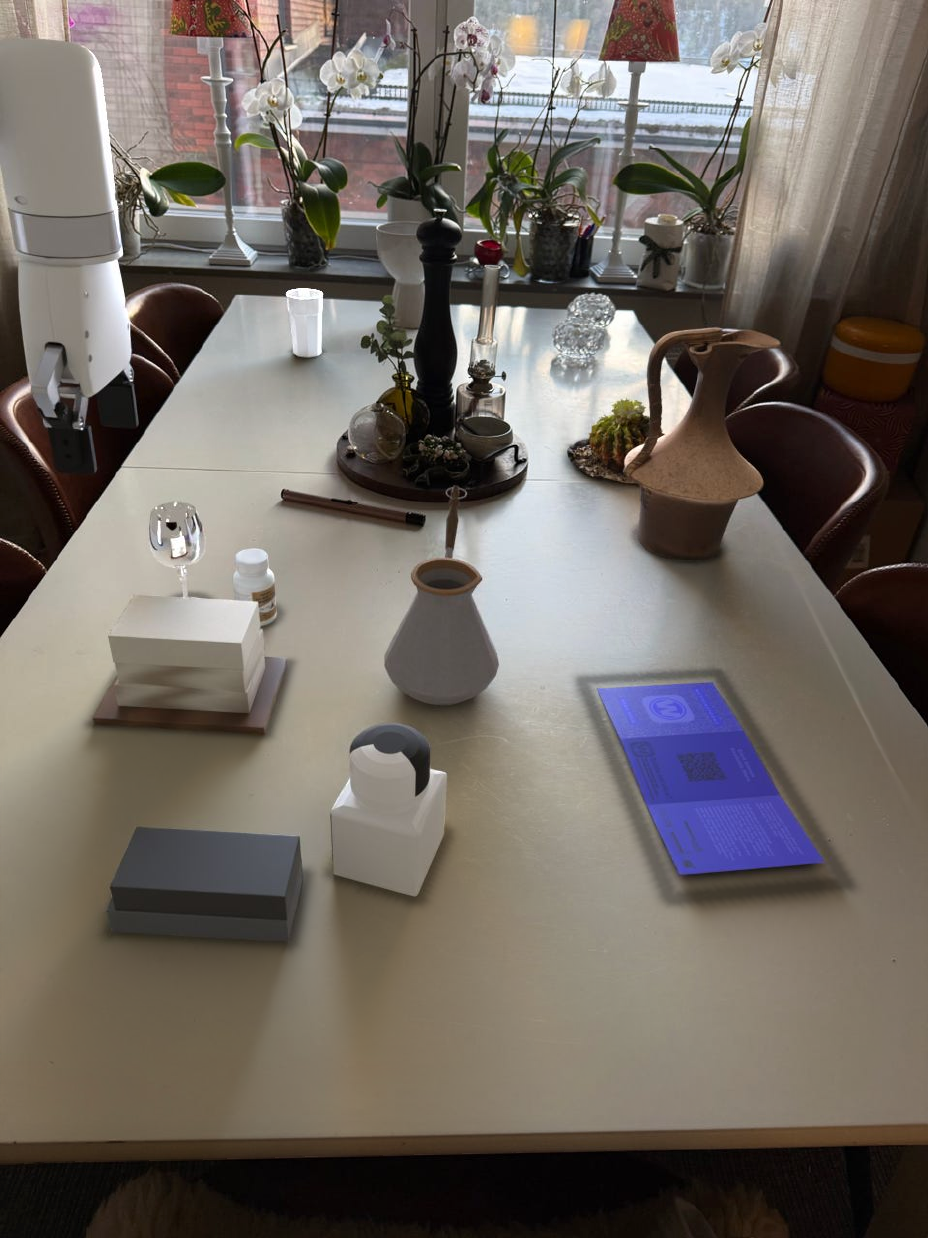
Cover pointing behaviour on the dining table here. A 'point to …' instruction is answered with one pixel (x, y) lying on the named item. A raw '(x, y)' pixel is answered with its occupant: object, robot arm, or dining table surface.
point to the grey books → (207, 884)
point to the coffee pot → (443, 630)
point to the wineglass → (177, 537)
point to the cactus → (612, 441)
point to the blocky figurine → (389, 810)
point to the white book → (185, 632)
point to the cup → (305, 321)
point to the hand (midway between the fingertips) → (99, 448)
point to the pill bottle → (255, 583)
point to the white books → (195, 695)
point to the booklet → (704, 780)
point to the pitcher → (694, 450)
